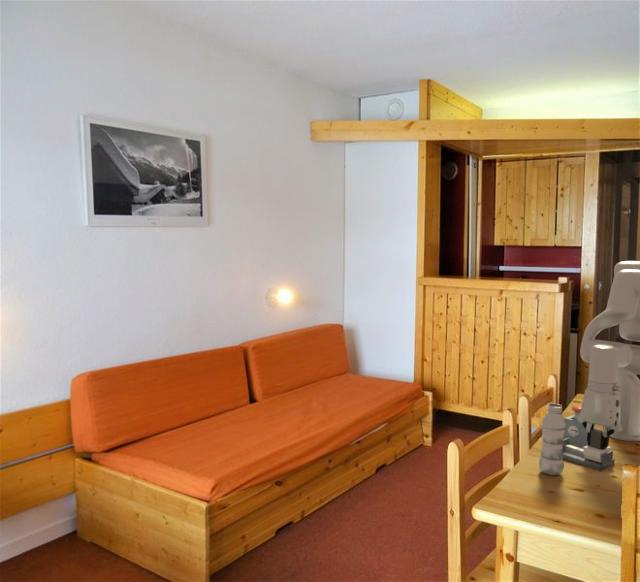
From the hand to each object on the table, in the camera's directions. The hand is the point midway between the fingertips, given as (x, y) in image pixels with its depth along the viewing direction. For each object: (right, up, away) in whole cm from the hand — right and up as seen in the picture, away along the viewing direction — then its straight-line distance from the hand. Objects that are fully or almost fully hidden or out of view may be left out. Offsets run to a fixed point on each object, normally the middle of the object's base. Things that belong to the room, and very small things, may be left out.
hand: (597, 446), depth 179 cm
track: (-2, -5, +3) cm, 7 cm away
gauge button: (+3, +3, +18) cm, 19 cm away
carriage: (0, -4, 0) cm, 4 cm away
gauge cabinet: (+2, -4, +19) cm, 20 cm away
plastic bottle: (-17, -6, -7) cm, 19 cm away
